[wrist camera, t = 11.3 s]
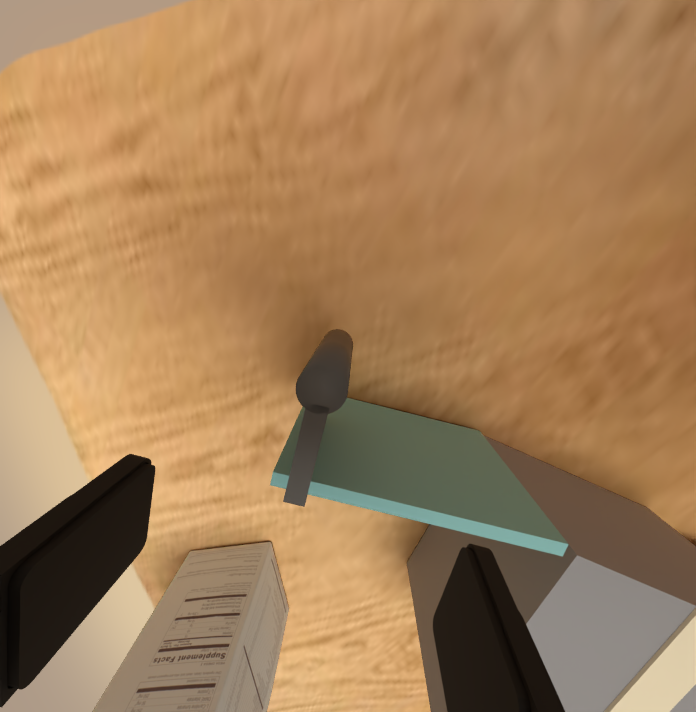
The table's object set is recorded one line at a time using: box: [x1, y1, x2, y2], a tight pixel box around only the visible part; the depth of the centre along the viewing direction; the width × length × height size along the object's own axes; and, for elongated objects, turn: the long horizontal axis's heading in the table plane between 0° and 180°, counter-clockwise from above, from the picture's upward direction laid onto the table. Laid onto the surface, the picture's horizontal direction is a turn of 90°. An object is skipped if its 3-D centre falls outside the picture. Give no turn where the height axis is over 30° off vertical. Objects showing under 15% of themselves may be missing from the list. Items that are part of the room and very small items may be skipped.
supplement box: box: [92, 542, 289, 712], centre depth 28 cm, size 10×9×17 cm
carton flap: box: [270, 329, 569, 556], centre depth 22 cm, size 16×8×16 cm, turn 76°
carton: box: [407, 435, 696, 712], centre depth 27 cm, size 16×18×14 cm
